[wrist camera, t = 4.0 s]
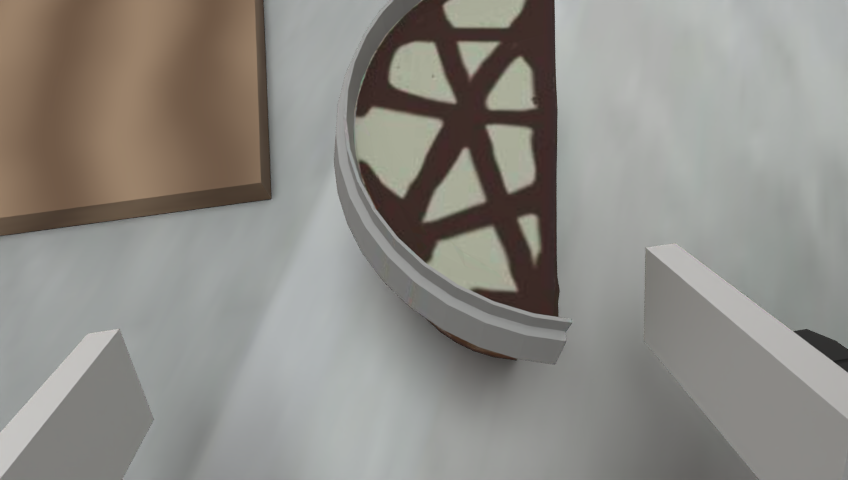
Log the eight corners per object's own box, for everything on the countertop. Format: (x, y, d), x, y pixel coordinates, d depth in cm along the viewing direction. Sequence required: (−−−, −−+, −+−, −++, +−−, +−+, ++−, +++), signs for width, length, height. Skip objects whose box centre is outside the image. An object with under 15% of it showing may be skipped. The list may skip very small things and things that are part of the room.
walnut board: (260, -70, 30) (251, -96, 29) (271, 198, 24) (260, 182, 23) (-43, -32, 30) (-67, -56, 29) (-107, 250, 24) (-140, 236, 23)
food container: (384, 111, 26) (351, -88, 17) (520, 117, 26) (564, -82, 16) (351, 388, 21) (281, 327, 12) (515, 400, 21) (573, 347, 12)
